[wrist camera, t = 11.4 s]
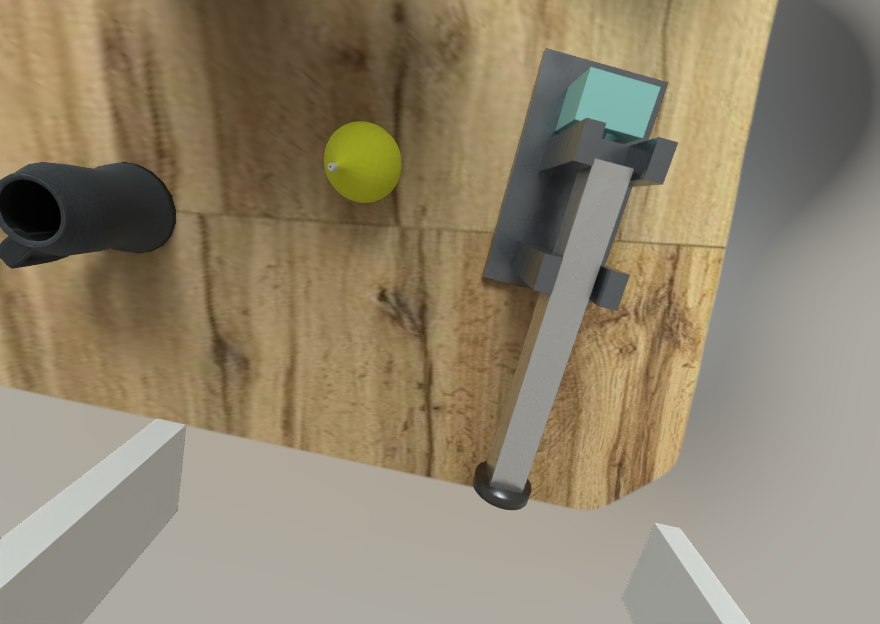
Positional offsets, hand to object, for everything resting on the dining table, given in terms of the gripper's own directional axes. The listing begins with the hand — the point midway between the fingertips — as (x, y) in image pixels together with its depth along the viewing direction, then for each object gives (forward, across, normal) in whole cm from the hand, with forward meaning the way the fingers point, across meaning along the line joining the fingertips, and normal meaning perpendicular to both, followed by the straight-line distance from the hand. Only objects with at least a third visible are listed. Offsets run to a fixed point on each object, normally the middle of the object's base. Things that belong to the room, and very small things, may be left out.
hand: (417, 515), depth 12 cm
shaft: (+28, +11, -1) cm, 31 cm away
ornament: (+35, -9, +10) cm, 37 cm away
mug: (+35, -33, -1) cm, 48 cm away
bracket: (+35, +11, +13) cm, 39 cm away
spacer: (+34, +11, +19) cm, 40 cm away
